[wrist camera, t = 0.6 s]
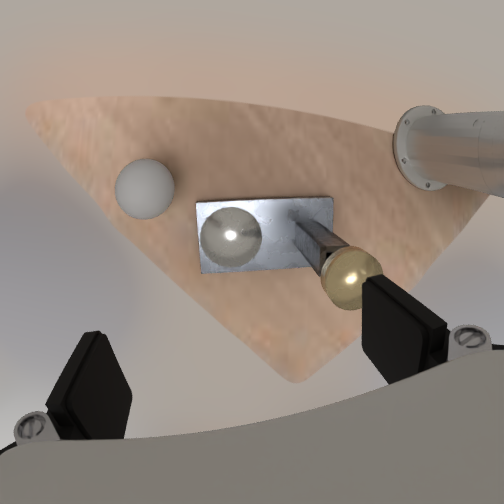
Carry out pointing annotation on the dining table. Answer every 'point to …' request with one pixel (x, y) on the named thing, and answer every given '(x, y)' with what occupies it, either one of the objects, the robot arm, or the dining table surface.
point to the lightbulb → (144, 189)
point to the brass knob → (348, 276)
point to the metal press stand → (266, 233)
